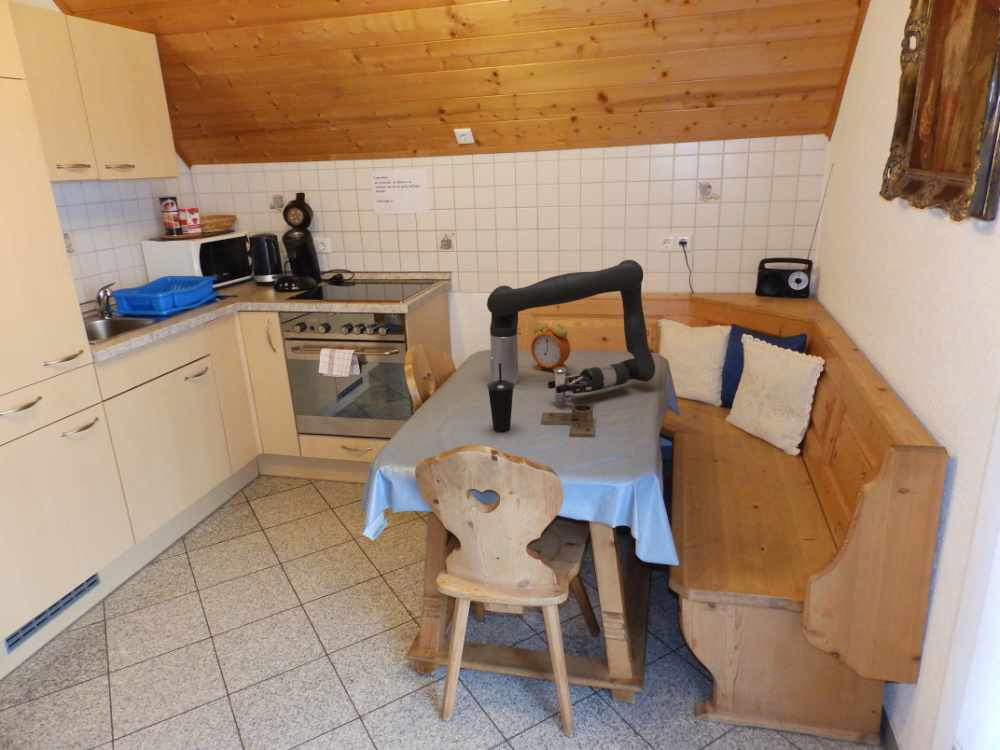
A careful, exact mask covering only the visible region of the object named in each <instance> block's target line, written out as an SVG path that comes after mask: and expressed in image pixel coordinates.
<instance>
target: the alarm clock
mask: <svg viewBox="0 0 1000 750" xmlns="http://www.w3.org/2000/svg"><path fill="white" fill-rule="evenodd" d="M548 317H550V318H551V317H552V318H553V316H551V315H548ZM556 318H557V319H559V317H558V316H556ZM546 328H547V330H546V331H543V330H545V329H546ZM540 331H541V333H538V332H540ZM533 333H534V334H536V333H538V334H536V336H535V337H534V338H533V339H532V342H531V347H530V350H531V355H532V359H533V360H534V361H535V362H536V364H537V365H536V367H535V370H536V371H542V370H544V369H552V372H553V373H554V374H555V372H554V369H555V368H558V367H563V368H566V366H565V362H566V361H568V359H569V357H570V353H571V345H570V342H569V340H568V329H567V328H566V327H564V326H563V325H561V324H559V323H557V324H556V325H554V326H553V327H550V326H549V324H548V323H545V322H544V320H542V321H541V323H537V325H536V326H535V327H534V328H533Z"/></svg>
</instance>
